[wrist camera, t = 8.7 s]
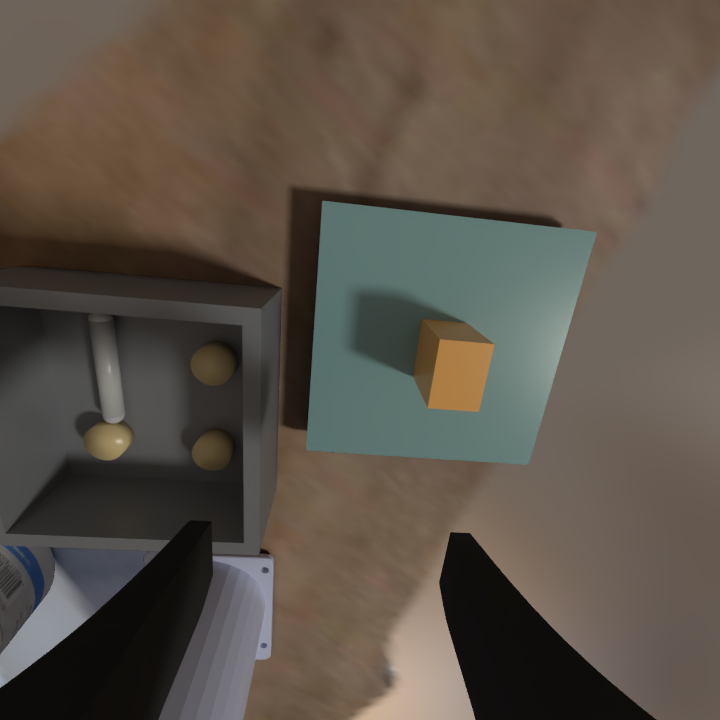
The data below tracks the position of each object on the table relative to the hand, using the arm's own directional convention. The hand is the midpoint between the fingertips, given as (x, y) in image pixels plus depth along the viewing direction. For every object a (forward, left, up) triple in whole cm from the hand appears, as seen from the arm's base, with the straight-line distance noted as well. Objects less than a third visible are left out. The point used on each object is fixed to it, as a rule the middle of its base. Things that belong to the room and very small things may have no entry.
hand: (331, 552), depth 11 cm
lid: (+4, -5, -10) cm, 12 cm away
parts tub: (0, +9, -10) cm, 14 cm away
